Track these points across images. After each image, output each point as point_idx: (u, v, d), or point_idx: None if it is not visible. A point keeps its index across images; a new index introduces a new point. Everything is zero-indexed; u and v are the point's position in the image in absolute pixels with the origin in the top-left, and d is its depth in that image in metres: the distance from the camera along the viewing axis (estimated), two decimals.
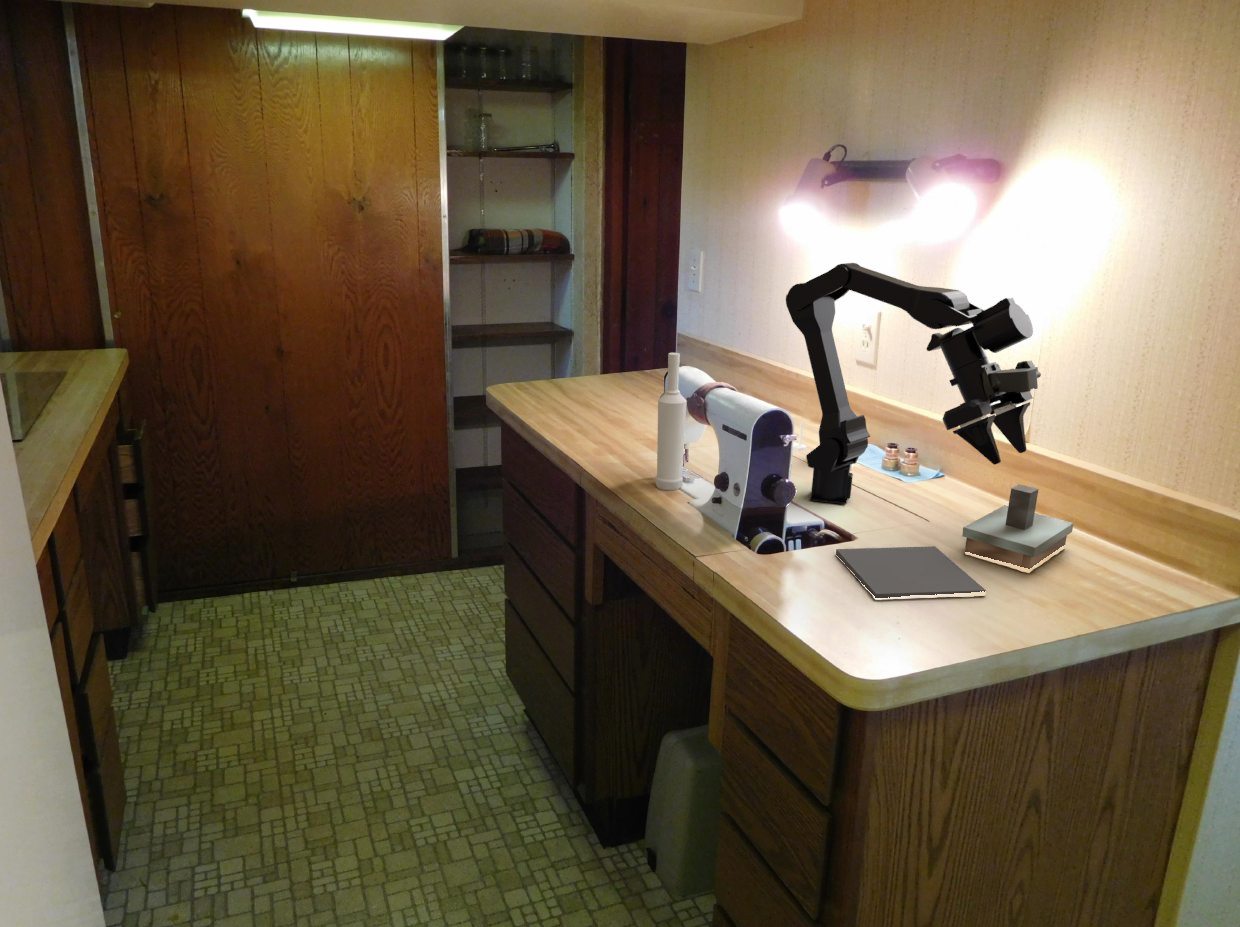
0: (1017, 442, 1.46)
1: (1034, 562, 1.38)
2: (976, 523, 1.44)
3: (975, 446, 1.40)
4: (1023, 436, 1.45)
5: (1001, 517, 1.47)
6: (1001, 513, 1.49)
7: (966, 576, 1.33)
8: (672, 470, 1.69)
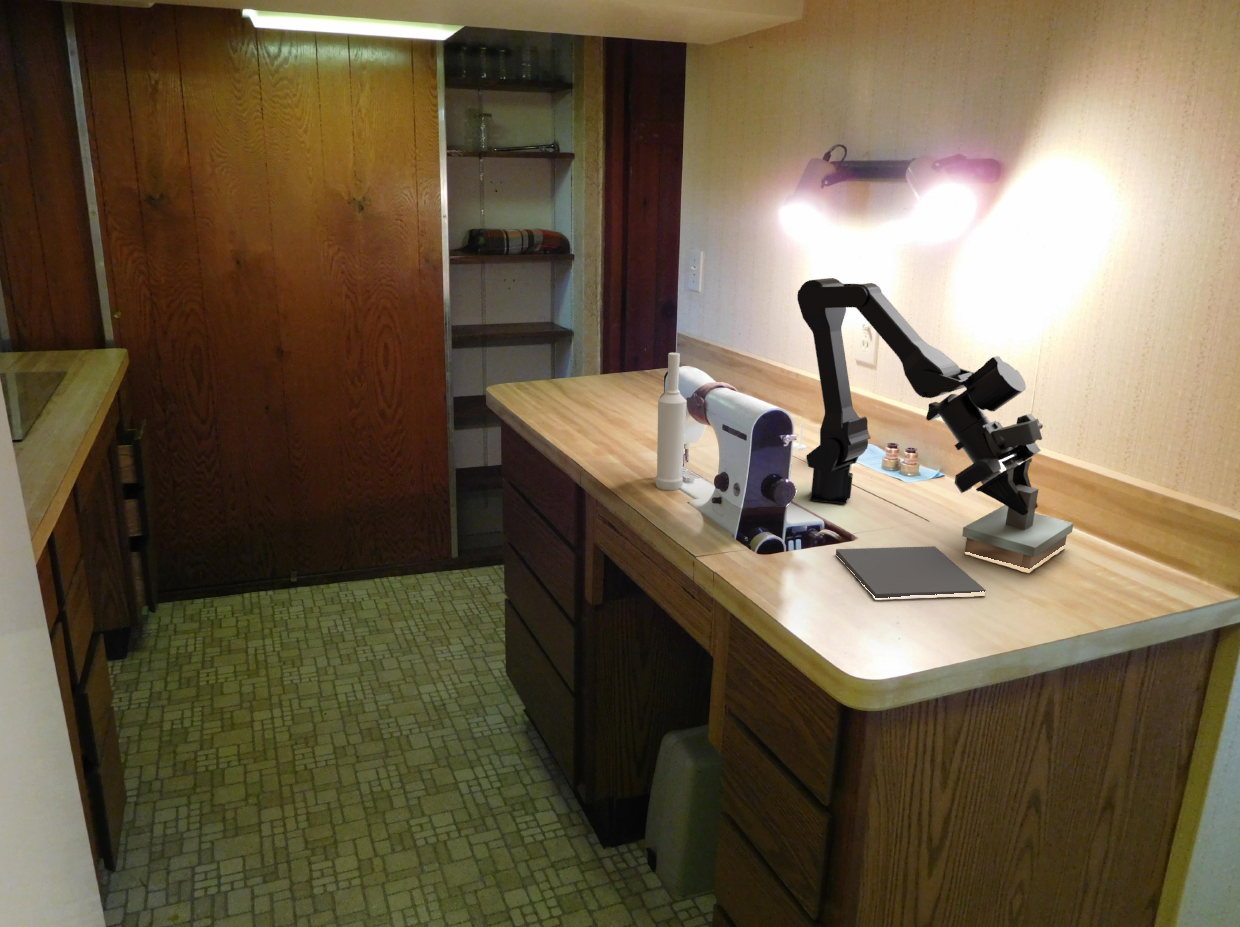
0: None
1: (1034, 562, 1.38)
2: (976, 523, 1.44)
3: (1001, 500, 1.42)
4: None
5: (1001, 517, 1.47)
6: (1001, 513, 1.49)
7: (966, 576, 1.33)
8: (672, 470, 1.69)
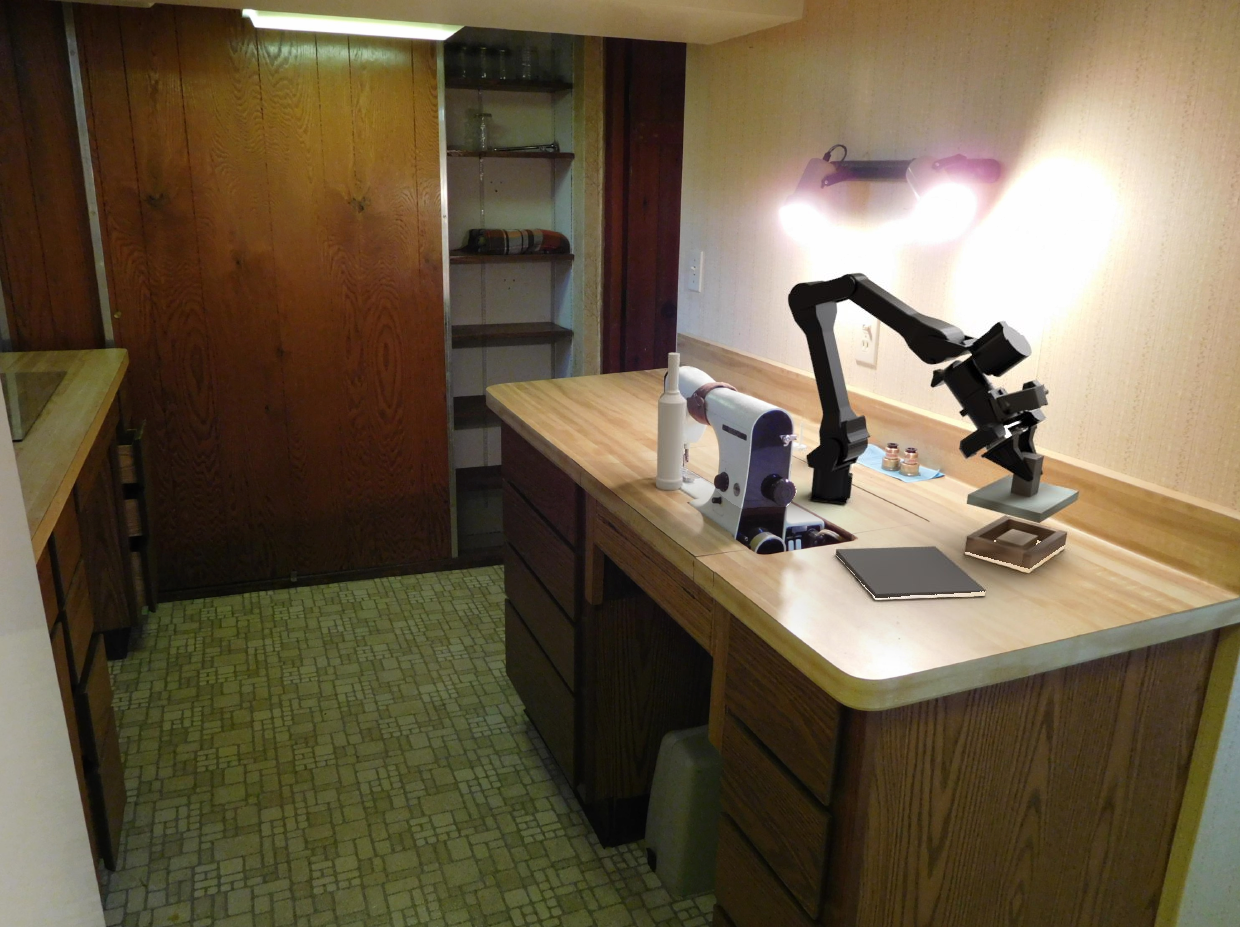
0: None
1: (1034, 562, 1.38)
2: (980, 490, 1.43)
3: (1006, 467, 1.41)
4: None
5: (1005, 485, 1.45)
6: (1006, 481, 1.47)
7: (966, 576, 1.33)
8: (672, 470, 1.69)
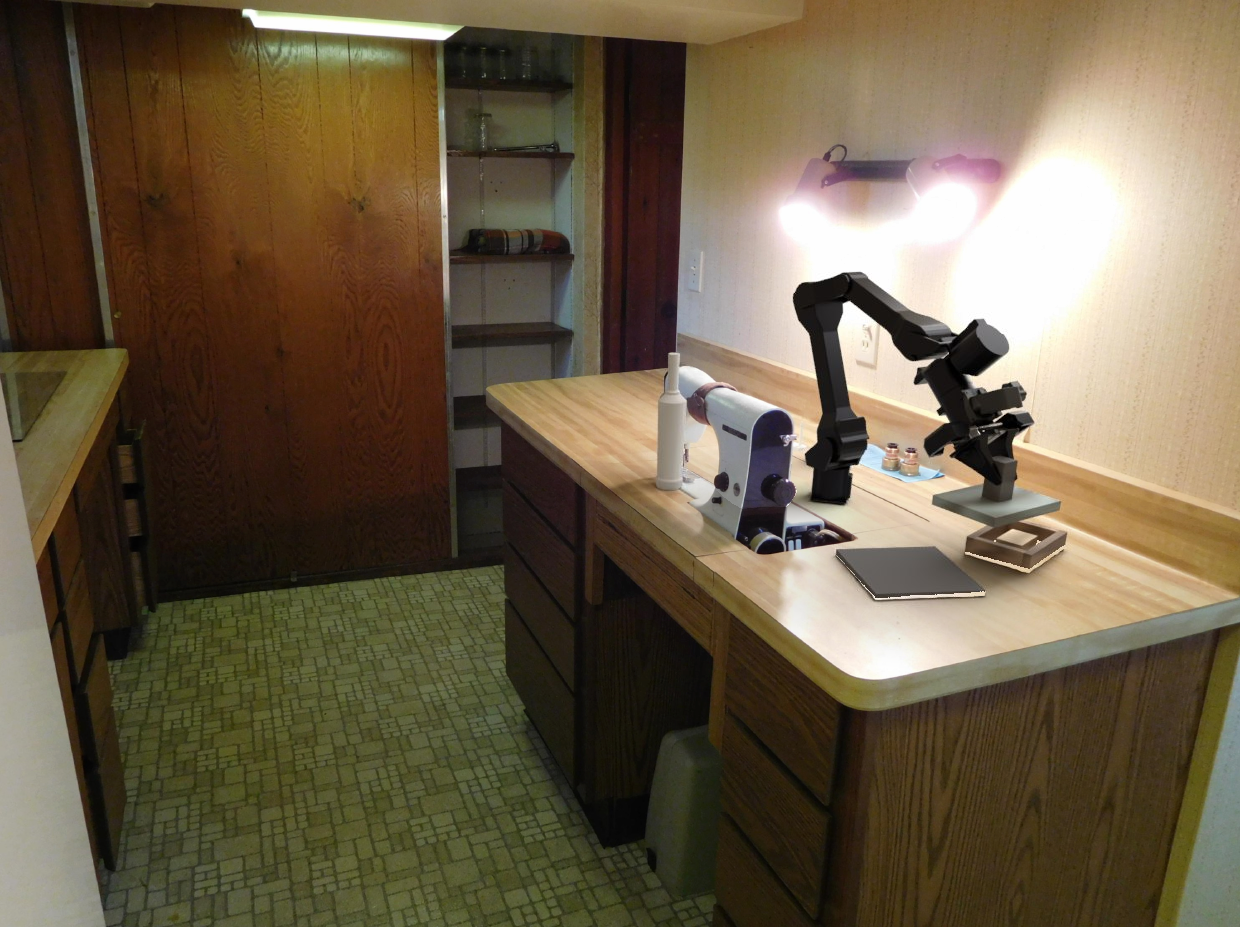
0: None
1: (1034, 562, 1.38)
2: (950, 492, 1.39)
3: (975, 469, 1.36)
4: None
5: (983, 490, 1.41)
6: None
7: (966, 576, 1.33)
8: (672, 470, 1.69)
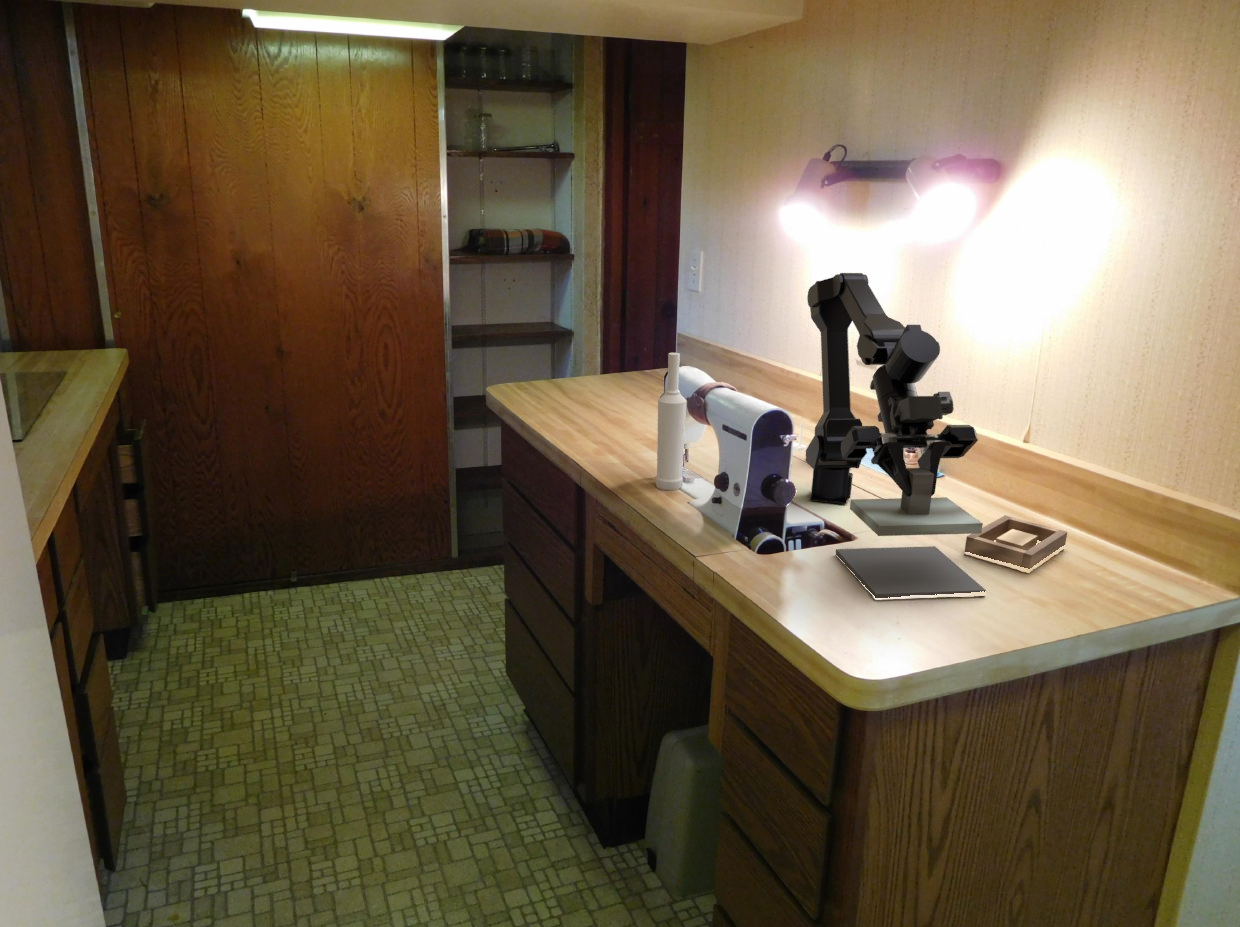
0: None
1: (1034, 562, 1.38)
2: (872, 500, 1.37)
3: (892, 477, 1.33)
4: None
5: None
6: None
7: (966, 576, 1.33)
8: (672, 470, 1.69)
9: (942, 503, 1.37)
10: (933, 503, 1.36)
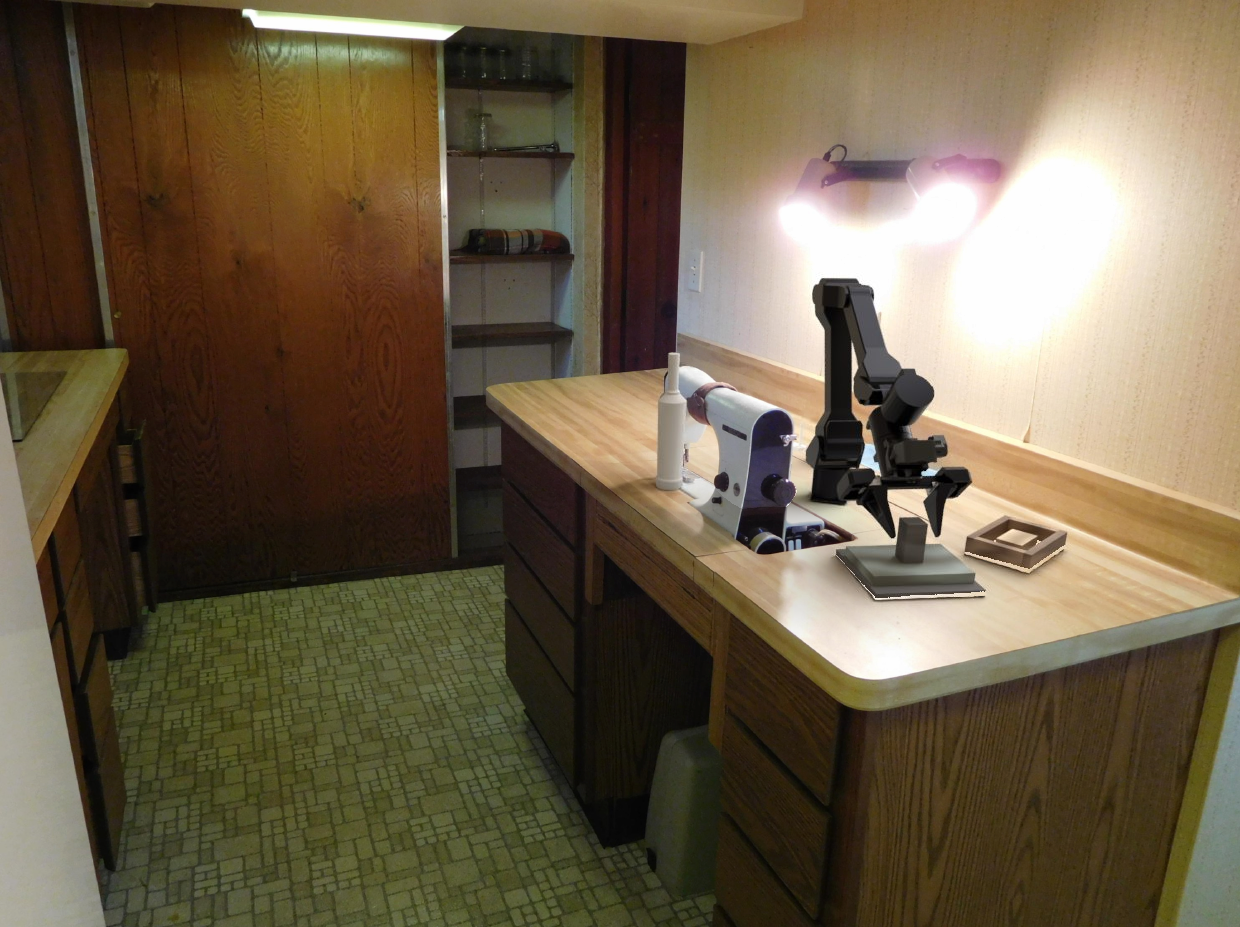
0: (933, 525, 1.34)
1: (1034, 562, 1.38)
2: (867, 547, 1.39)
3: (876, 519, 1.35)
4: (938, 519, 1.33)
5: None
6: None
7: None
8: (672, 470, 1.69)
9: (936, 550, 1.39)
10: (927, 551, 1.38)
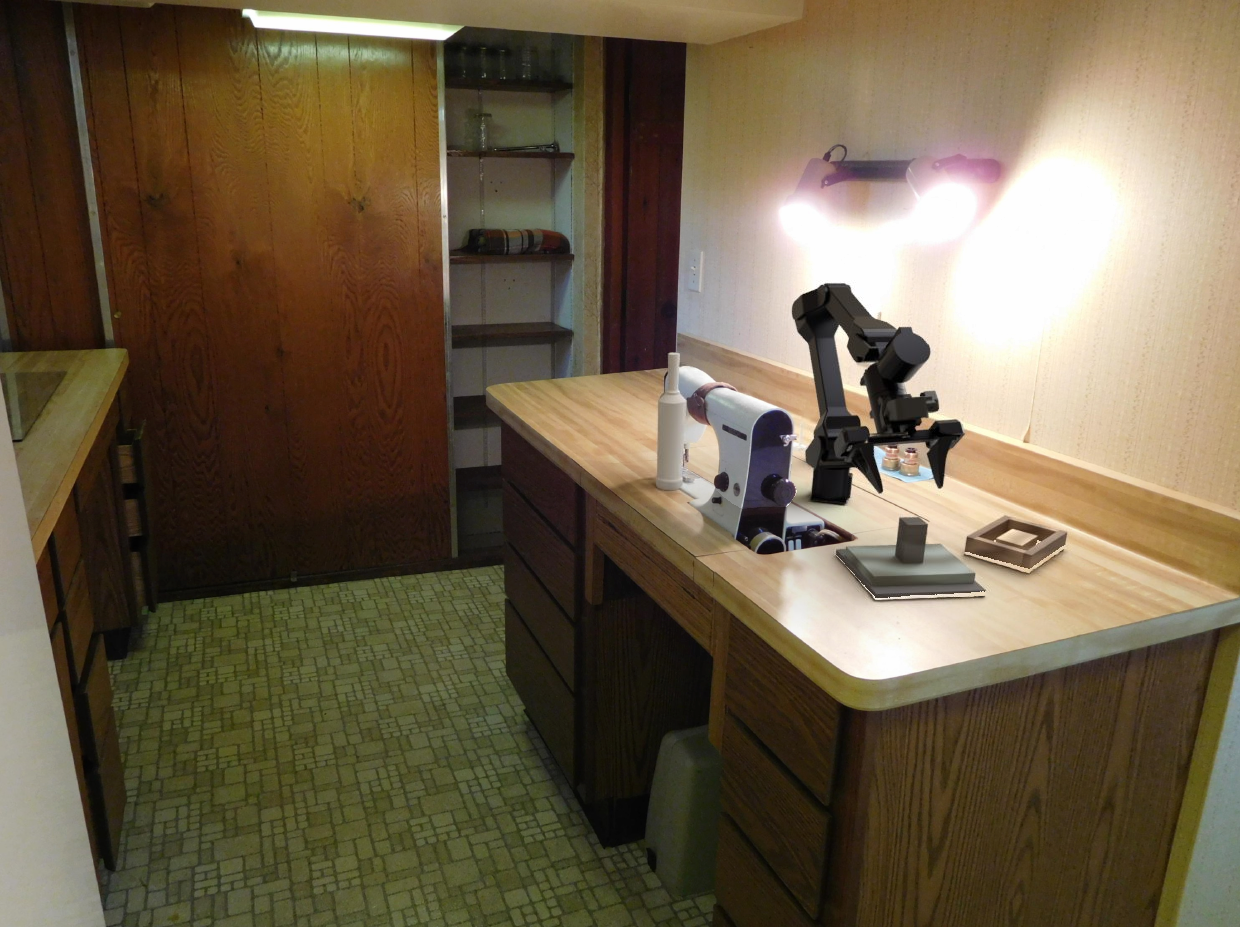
0: (936, 477, 1.39)
1: (1034, 562, 1.38)
2: (867, 547, 1.39)
3: (865, 475, 1.40)
4: (941, 471, 1.38)
5: None
6: None
7: None
8: (672, 470, 1.69)
9: (936, 550, 1.39)
10: (927, 551, 1.38)
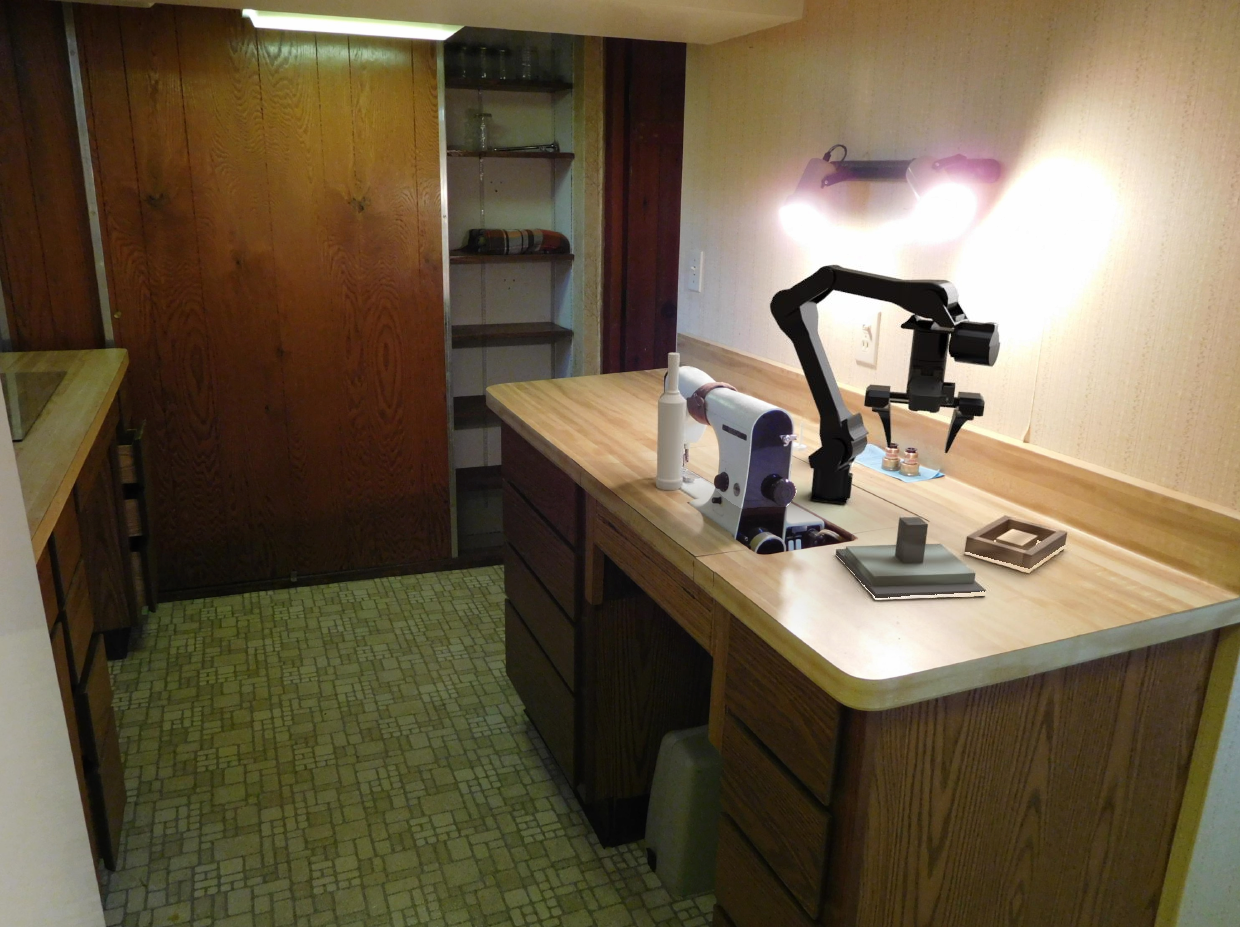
0: (946, 442, 1.54)
1: (1034, 562, 1.38)
2: (867, 547, 1.39)
3: None
4: (949, 441, 1.53)
5: None
6: None
7: None
8: (672, 470, 1.69)
9: (936, 550, 1.39)
10: (927, 551, 1.38)
